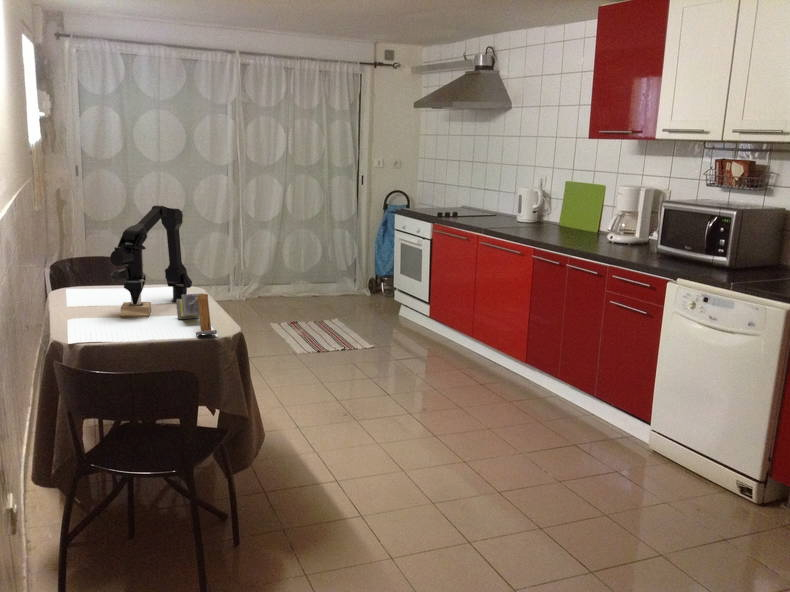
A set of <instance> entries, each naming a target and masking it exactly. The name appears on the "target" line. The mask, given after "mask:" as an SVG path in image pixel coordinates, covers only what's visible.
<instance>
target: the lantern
mask: <svg viewBox="0 0 790 592" xmlns="http://www.w3.org/2000/svg"><path fill="white" fill-rule="evenodd" d="M181 296H182V299H177V300H176V302H175V304H176V314H177V315H176V316H177V320H178V321H180V320H179V319H181V320H191V319H192V318H195V319H199V325H200V326H199V327H200V331H197V332H195V336H196V337H198V336H197V335H202V334H213V335H217V334H218V330H217V329H212V323H211V315H210V307H209V306H210V305H209V294H207V293H204V292H203V293H200V292H199V293H187V294H183V295H181Z"/></svg>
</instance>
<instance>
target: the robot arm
mask: <svg viewBox="0 0 790 592" xmlns="http://www.w3.org/2000/svg"><path fill="white" fill-rule="evenodd" d="M183 217H184V215H183V211H182V210H181V209H180V208H174V207H167V206H164V205H158V204H157V205H153V206H152V207H151V209H150V210H149V211H148V212H147V213H146V214H145V215H144V216H143V218H141V219H140V220H139V222H137V223H136V224H134V225H131V226H129V227H127V228H126V229H125V230H124V231H123V232H122V235H121V237H120V240H119V242H118V245H117V246H114V250H113V251H112V252H111V253H110V256H109V260H110V262H111V264H112V265H113V266H116V267H119V266H123V265H125V267H124V268H122V269H119V270H118V269H117V270H113V272H112V273H110V276H111V279H112V280H113V283H117V282H118V281H121V280H123V279H125V281H124V282H123V289H125V290H127V291H128V292H129V295H130V299H131V298H132V301H133V304H134V305H136V304H137V302H138V299H139V296H140V293H141V294H142V292H143V290H144V287H145V283H146V281H147V274H146V273H145V272H144V262H143V260H144V259H143V251H144V250H146V249H147V247H146V246H144V245H143V244H144V243H145V242H146V240H147V238H148V233H149V231H151V229H152V228H153V227H154V226H155V225H156V224H157V223H158V222H159V221H161V224H162V226H163V227H164V229H165V230H166V241H167V252H168V260H169V261H168V262H169V263H168V266H167V268H165V269H164V272H165V273H164V274H165V277H164V278H165V281H166V283H167V287H169V288H170V287H172V299H171V303H176V300H177V299H182V296H181V295H183V294H188V289H189V288H191V287H192V285H193V284H192V283H193V281H192V280H191V278H190V277H189V275H188V272H187V268H186V267H185V265H184V264H183V262H182V261H183V260H182V250H181V238H180V228H181V226H182V225H183Z"/></svg>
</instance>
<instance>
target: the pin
mask: <svg viewBox="0 0 790 592" xmlns="http://www.w3.org/2000/svg"><path fill="white" fill-rule="evenodd" d="M130 302H131V306H141V302H142V292H141V293H140V296H139V299H138V302H137V304H136V305H134V304H133V301H132V298H131V297H130Z"/></svg>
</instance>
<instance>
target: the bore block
mask: <svg viewBox="0 0 790 592" xmlns="http://www.w3.org/2000/svg"><path fill="white" fill-rule="evenodd" d="M150 313H151V314H152V302H151V301H141V306H131V301H126V302H125V301H124V302H123V303H122V305H121V307H120V318H121V319H142V318H141V317H149V318H150V316H151V314H150ZM138 317H140V318H138Z"/></svg>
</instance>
